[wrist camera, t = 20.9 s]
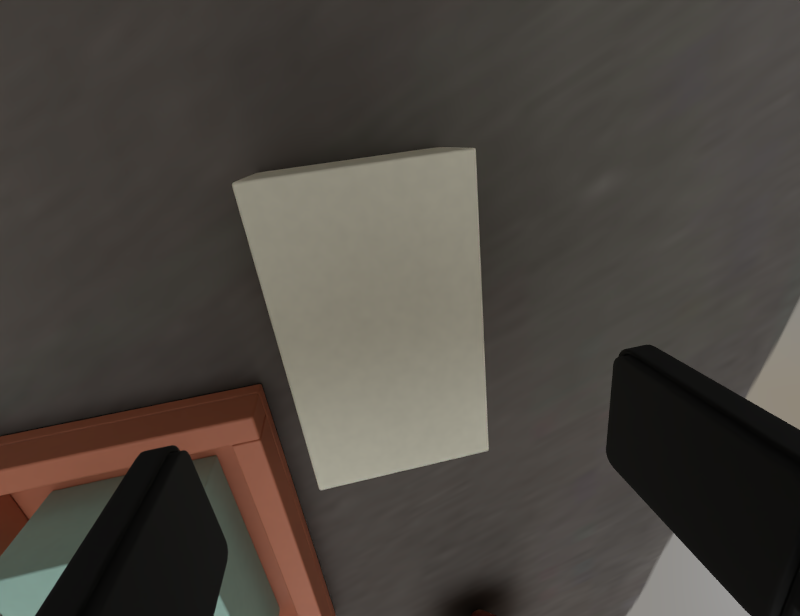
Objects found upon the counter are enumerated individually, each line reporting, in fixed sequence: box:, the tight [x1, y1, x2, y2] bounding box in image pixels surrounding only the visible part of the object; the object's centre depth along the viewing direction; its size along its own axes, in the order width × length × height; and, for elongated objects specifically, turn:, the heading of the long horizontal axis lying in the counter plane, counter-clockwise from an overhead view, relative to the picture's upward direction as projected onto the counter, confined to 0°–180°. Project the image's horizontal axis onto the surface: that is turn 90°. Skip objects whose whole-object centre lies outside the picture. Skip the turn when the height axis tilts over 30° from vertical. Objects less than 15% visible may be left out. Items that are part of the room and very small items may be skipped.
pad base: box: [0, 455, 280, 616], centre depth 15 cm, size 10×6×4 cm, turn 7°
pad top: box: [232, 147, 489, 490], centre depth 13 cm, size 10×6×4 cm, turn 7°
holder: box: [0, 384, 335, 616], centre depth 17 cm, size 15×10×2 cm
